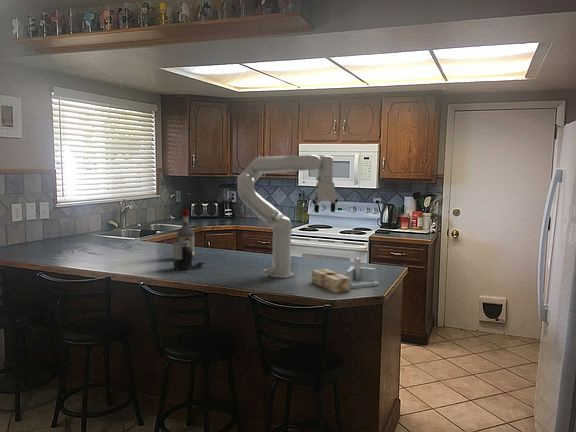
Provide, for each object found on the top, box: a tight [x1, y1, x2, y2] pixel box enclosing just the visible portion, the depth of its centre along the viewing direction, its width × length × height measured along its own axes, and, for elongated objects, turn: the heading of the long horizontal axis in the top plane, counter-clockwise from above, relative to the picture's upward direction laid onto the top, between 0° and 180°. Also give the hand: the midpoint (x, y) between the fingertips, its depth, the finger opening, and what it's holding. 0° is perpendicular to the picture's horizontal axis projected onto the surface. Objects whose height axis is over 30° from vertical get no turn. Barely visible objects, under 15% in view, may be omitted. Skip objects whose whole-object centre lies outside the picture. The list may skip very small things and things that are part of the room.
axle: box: [353, 257, 362, 281], centre depth 234 cm, size 3×3×11 cm
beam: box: [311, 268, 351, 293], centre depth 229 cm, size 8×22×6 cm, turn 25°
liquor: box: [177, 209, 195, 260], centre depth 293 cm, size 9×9×30 cm
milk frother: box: [172, 241, 205, 271], centre depth 266 cm, size 14×16×15 cm
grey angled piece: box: [345, 265, 380, 289], centre depth 234 cm, size 17×13×8 cm
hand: (324, 212), depth 252 cm, fingers open, 9 cm apart
